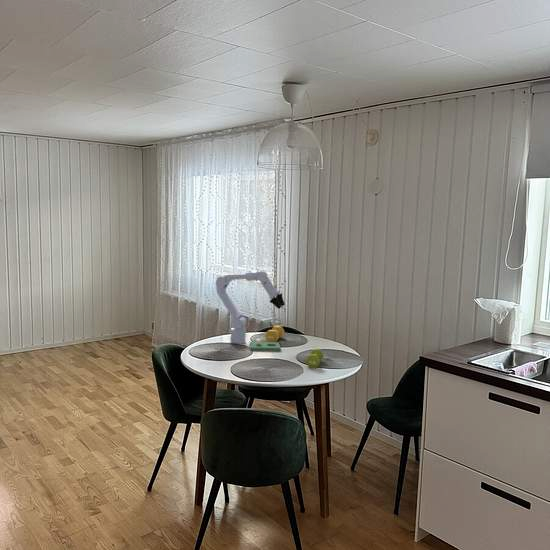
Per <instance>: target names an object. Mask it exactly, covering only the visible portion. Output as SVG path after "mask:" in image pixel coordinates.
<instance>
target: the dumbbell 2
mask: <svg viewBox="0 0 550 550" xmlns="http://www.w3.org/2000/svg"><path fill="white" fill-rule="evenodd" d="M284 335H285V330H284V328H283V326H282V325H274V326H273V327H272V328H271V329H268V330H267V331H266V332H265V335H264V339H265V341H266V342H278V340H279V339H281V338H283V336H284Z"/></svg>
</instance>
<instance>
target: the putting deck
mask: <svg viewBox="0 0 550 550" xmlns="http://www.w3.org/2000/svg"><path fill="white" fill-rule="evenodd" d="M249 349H250V352H281V351H282V347H281V345H280V343H279V342H278V341H276V342H267V341H261V344H260V345H257V344H256V341H250V342H249Z"/></svg>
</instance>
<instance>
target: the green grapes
mask: <svg viewBox="0 0 550 550" xmlns="http://www.w3.org/2000/svg"><path fill="white" fill-rule="evenodd" d="M324 356H325V355H324V353H323V350H322V349H320V348H312V350H311V351H310V353H309V355H308V356H307V357H306V359H305V363H306V366H307V367H308V368H310V369H317V368H318V367H319V366H320V364H321V361H322V360H323V358H324Z"/></svg>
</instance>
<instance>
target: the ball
mask: <svg viewBox="0 0 550 550" xmlns="http://www.w3.org/2000/svg"><path fill="white" fill-rule="evenodd" d="M255 342H256V344H257V345H260V344H261V342H262V339H260V338H258V339H256V340H255Z"/></svg>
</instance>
